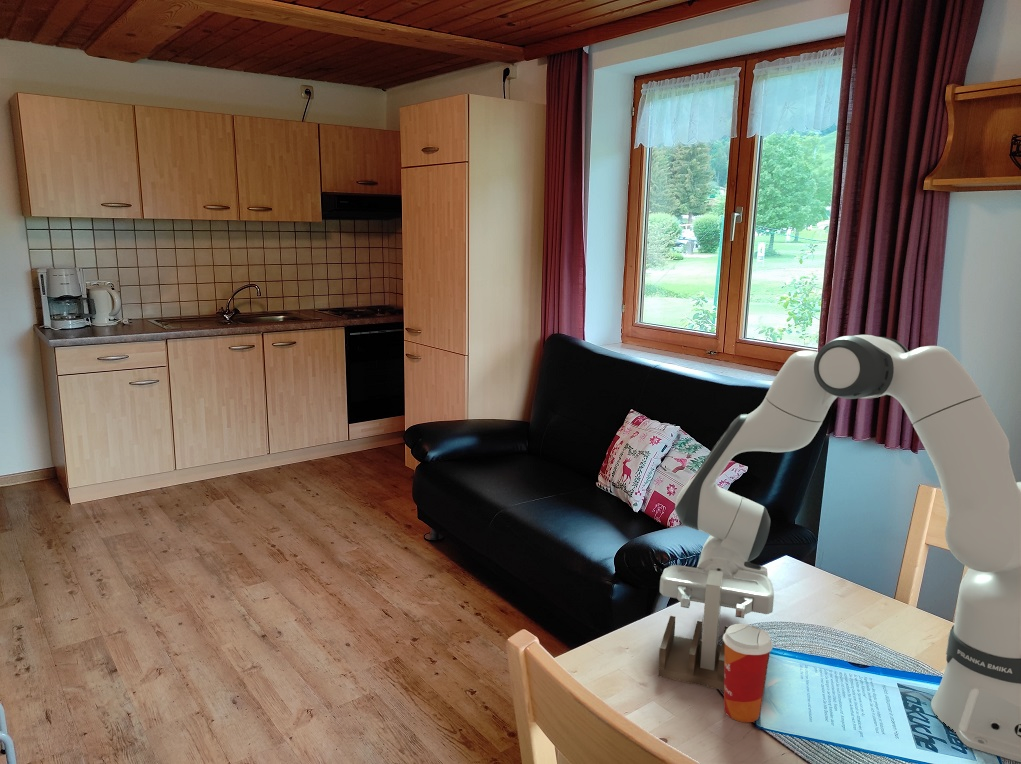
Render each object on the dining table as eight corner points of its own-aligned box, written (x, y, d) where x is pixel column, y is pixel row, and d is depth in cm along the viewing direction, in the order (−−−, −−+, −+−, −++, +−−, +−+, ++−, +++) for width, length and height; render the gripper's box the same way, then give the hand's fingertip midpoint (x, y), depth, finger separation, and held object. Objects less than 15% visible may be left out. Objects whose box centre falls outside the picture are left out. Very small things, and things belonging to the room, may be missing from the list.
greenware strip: (717, 652, 137) (723, 571, 134) (714, 670, 132) (720, 586, 129) (703, 650, 138) (709, 569, 135) (700, 667, 133) (706, 584, 129)
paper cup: (729, 691, 128) (735, 616, 125) (773, 710, 124) (780, 632, 121) (709, 713, 122) (715, 635, 120) (755, 734, 118) (762, 653, 115)
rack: (756, 659, 138) (758, 632, 137) (753, 696, 127) (755, 667, 126) (668, 642, 144) (670, 615, 142) (658, 676, 132) (659, 648, 131)
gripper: (665, 551, 148) (653, 582, 135) (775, 568, 141) (773, 602, 128) (664, 581, 149) (652, 614, 136) (773, 599, 142) (770, 636, 129)
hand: (712, 608), depth 132 cm, fingers open, 8 cm apart
